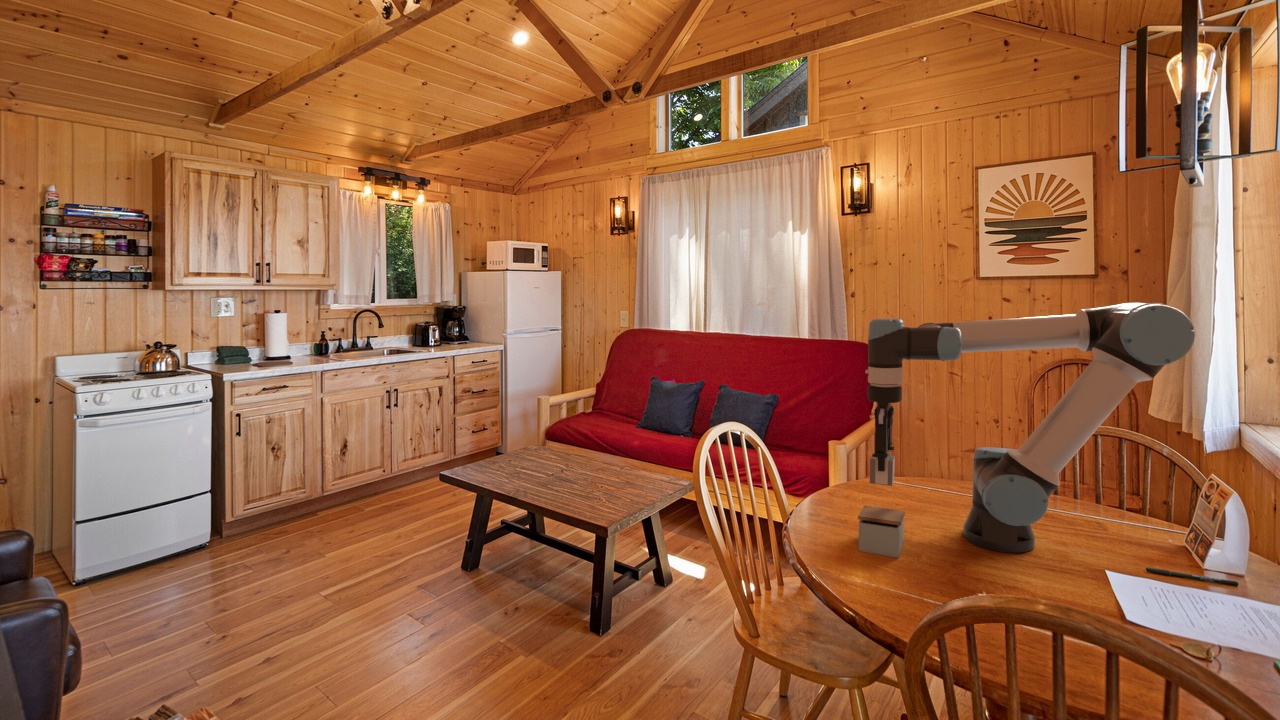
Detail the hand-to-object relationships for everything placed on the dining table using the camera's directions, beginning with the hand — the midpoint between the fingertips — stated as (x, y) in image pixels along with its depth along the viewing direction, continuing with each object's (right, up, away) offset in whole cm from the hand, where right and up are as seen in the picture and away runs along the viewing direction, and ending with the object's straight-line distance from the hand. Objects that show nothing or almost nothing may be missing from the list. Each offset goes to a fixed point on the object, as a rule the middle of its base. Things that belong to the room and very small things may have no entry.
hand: (882, 480), depth 145 cm
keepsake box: (0, -17, +2) cm, 17 cm away
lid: (0, -9, +1) cm, 9 cm away
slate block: (0, 0, 0) cm, 0 cm away
